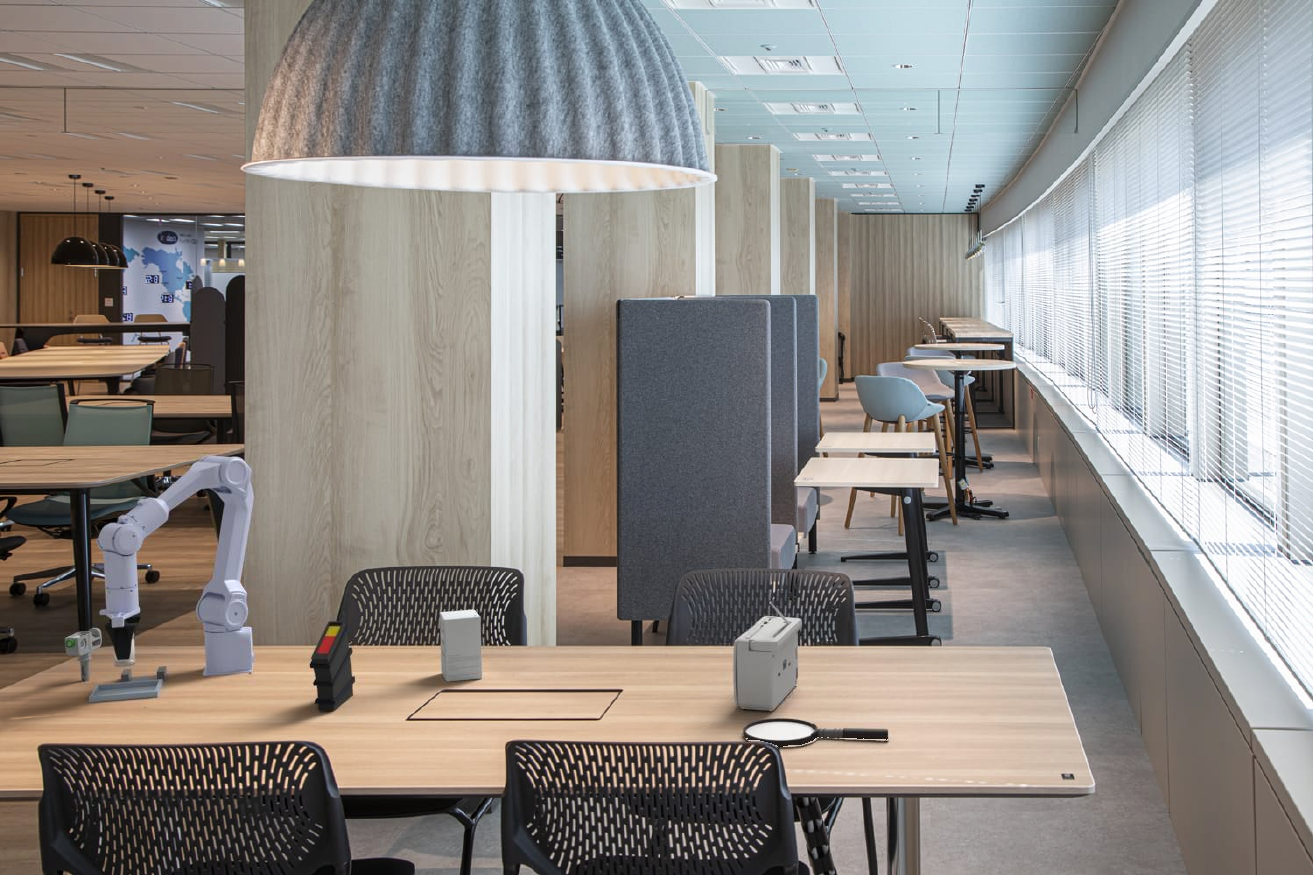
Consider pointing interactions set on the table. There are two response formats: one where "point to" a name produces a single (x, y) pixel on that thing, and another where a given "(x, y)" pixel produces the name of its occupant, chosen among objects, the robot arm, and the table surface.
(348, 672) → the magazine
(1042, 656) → the table surface
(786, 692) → the stereo radio cassette player
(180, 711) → the table surface
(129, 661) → the white cylindrical jar
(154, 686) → the tray
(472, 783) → the table surface
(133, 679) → the holder
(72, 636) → the mechanical component
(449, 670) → the supplement box
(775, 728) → the magnifying glass
